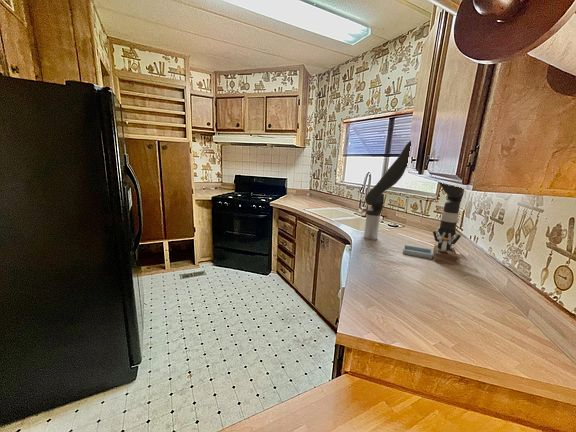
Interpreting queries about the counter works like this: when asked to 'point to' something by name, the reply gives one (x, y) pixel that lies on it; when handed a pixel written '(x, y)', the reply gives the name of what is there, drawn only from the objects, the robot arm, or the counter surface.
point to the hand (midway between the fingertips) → (443, 249)
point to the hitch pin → (444, 245)
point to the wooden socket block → (445, 256)
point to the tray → (417, 251)
